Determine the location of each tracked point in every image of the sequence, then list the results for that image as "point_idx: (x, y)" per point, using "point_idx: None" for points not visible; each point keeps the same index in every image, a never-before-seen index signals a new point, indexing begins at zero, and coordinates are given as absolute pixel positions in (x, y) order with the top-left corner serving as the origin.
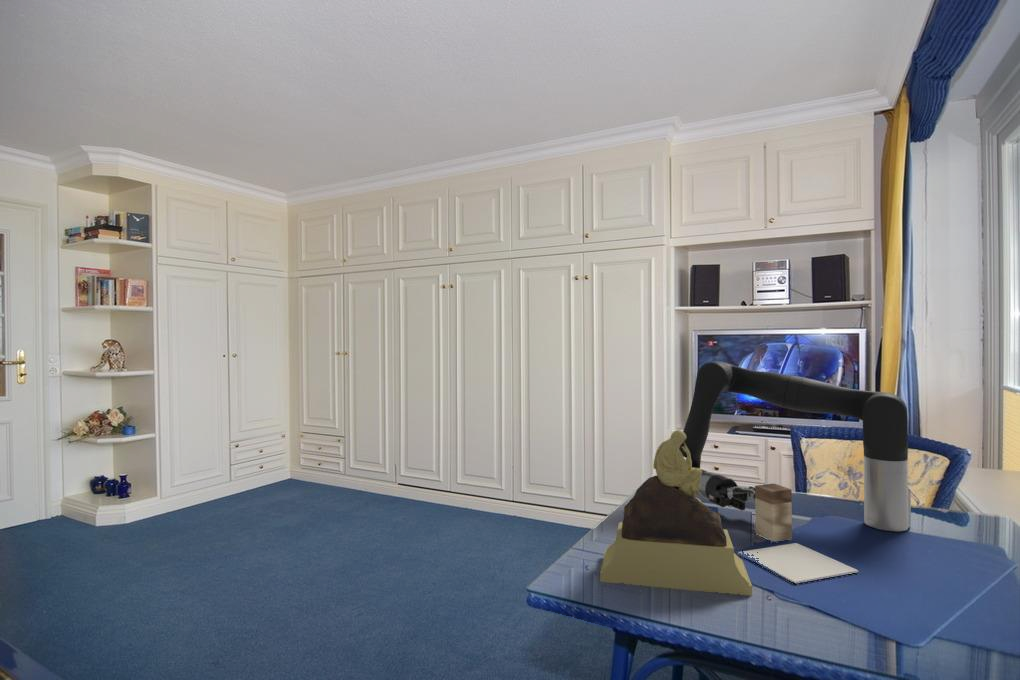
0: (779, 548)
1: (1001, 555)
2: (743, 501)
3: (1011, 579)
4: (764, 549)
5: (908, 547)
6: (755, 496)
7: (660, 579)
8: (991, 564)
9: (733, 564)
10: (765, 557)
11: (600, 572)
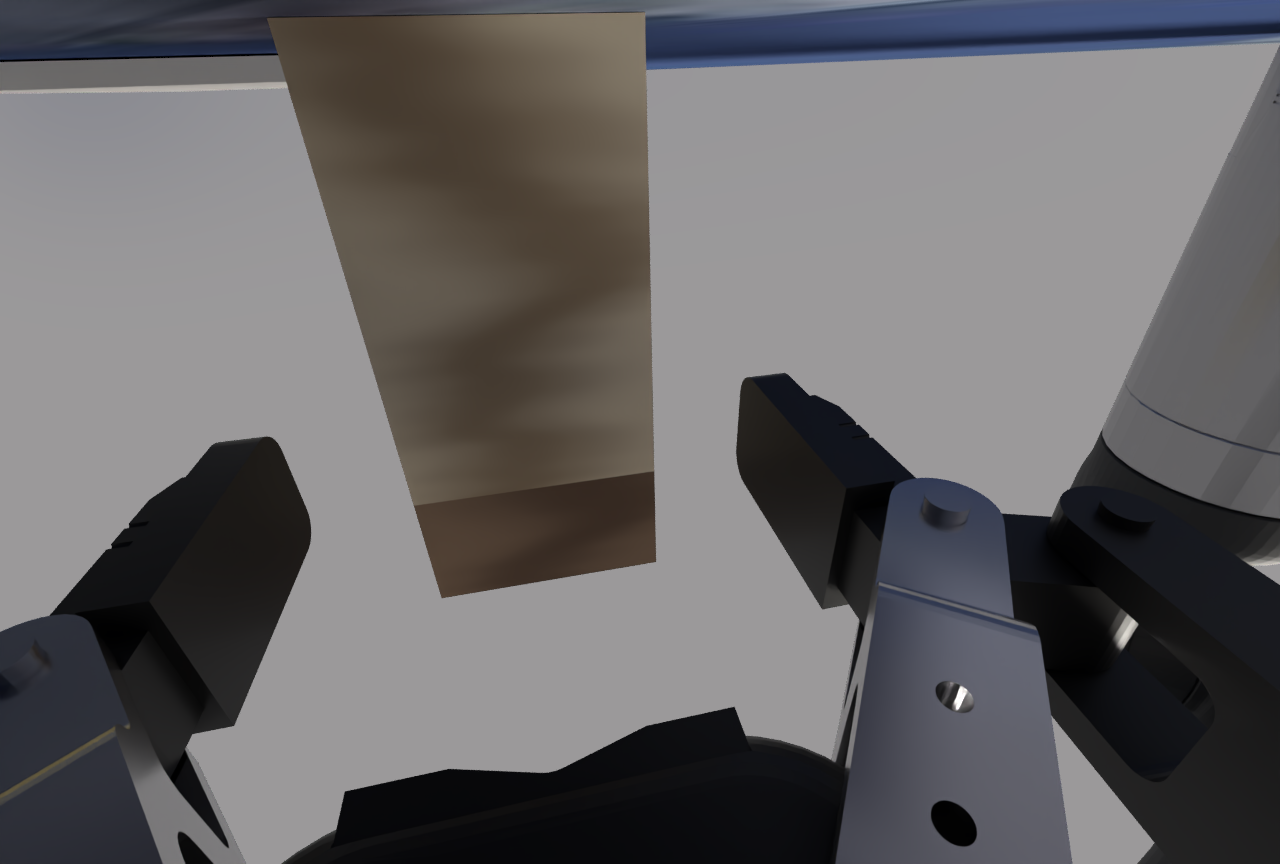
0: None
1: (1068, 51)
2: (298, 542)
3: (845, 61)
4: (167, 85)
5: (988, 47)
6: (418, 515)
7: None
8: (947, 56)
9: None
10: (118, 89)
11: None
